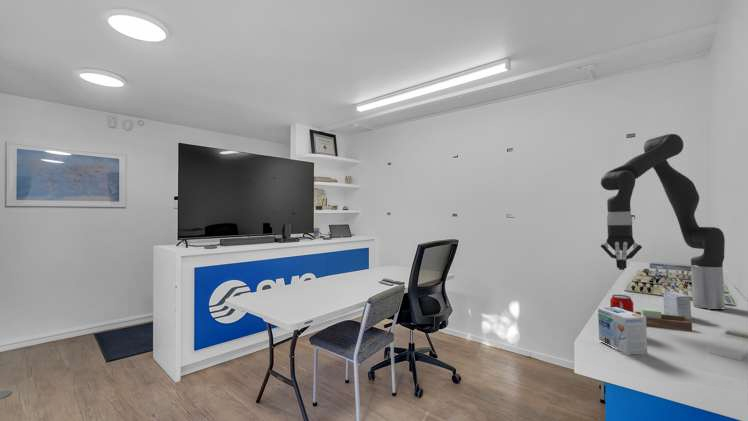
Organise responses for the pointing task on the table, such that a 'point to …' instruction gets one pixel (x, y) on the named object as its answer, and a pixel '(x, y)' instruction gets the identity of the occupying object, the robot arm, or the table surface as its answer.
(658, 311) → the sage block
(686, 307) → the medicine box
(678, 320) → the walnut chute
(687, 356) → the table surface
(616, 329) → the light bulb box
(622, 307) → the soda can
